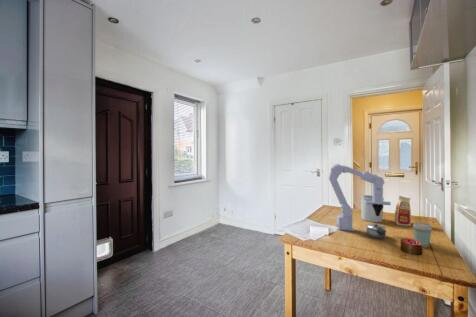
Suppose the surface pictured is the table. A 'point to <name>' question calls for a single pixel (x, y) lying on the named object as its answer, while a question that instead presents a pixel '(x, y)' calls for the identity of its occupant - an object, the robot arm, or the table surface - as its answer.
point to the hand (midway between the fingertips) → (377, 215)
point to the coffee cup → (422, 233)
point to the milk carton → (403, 211)
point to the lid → (377, 228)
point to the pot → (375, 234)
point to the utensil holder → (370, 210)
